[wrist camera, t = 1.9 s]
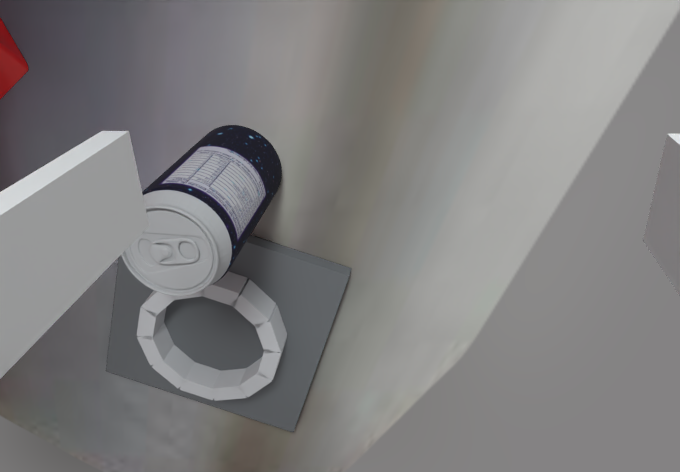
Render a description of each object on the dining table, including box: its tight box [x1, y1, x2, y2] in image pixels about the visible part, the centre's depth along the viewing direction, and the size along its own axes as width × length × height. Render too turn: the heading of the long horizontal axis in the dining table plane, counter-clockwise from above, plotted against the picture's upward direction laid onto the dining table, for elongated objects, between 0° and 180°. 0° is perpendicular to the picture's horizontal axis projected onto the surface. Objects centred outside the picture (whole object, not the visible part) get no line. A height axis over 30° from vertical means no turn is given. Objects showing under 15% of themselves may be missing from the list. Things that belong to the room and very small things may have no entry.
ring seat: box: [106, 235, 351, 432], centre depth 43 cm, size 16×16×3 cm
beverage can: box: [121, 125, 282, 296], centre depth 33 cm, size 6×6×12 cm
